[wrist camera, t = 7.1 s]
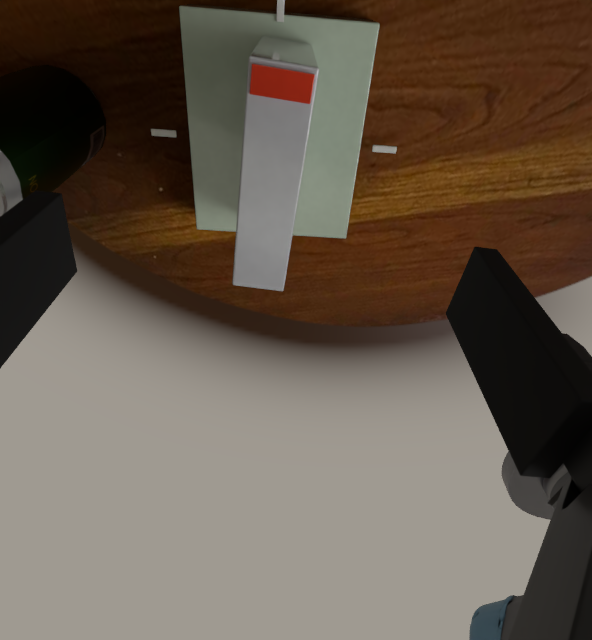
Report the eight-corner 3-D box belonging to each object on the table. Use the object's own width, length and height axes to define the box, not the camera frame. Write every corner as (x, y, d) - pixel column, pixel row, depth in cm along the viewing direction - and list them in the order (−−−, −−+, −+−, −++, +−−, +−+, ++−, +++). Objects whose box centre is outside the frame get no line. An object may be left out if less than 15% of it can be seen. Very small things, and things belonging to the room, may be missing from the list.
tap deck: (368, 238, 32) (374, 256, 29) (174, 226, 31) (165, 243, 29) (415, -3, 23) (427, -1, 21) (145, -26, 22) (130, -28, 20)
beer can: (116, 87, 25) (10, 147, 16) (104, 171, 28) (10, 263, 19) (18, 46, 24) (-160, 85, 15) (17, 138, 27) (-131, 220, 18)
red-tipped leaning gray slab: (285, 222, 28) (283, 294, 22) (246, 217, 28) (231, 288, 21) (312, 44, 22) (320, 68, 15) (261, 34, 22) (248, 56, 15)
